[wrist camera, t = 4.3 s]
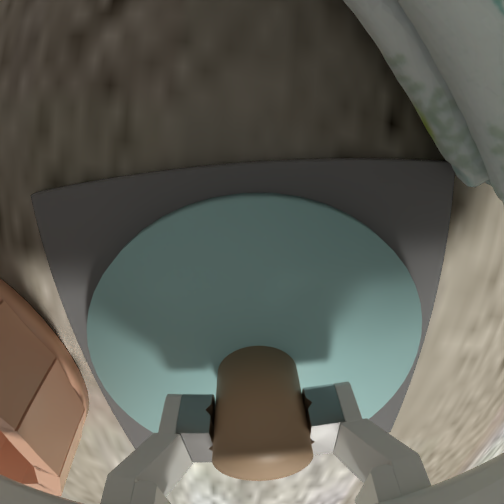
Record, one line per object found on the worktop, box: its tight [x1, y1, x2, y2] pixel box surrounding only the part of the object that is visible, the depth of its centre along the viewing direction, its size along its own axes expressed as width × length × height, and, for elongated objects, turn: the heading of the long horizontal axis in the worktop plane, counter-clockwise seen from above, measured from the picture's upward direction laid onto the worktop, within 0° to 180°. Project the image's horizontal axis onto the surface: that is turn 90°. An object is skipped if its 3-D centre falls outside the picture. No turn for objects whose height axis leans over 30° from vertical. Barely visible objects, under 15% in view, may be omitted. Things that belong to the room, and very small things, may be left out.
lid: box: [87, 193, 422, 481], centre depth 10 cm, size 12×12×4 cm
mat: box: [31, 158, 455, 449], centre depth 12 cm, size 14×14×1 cm
